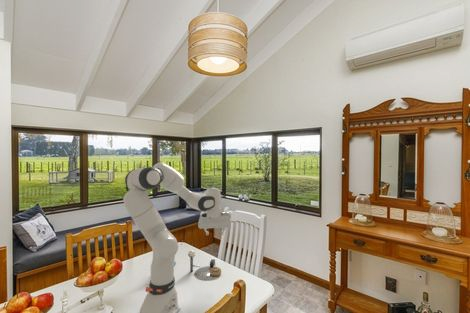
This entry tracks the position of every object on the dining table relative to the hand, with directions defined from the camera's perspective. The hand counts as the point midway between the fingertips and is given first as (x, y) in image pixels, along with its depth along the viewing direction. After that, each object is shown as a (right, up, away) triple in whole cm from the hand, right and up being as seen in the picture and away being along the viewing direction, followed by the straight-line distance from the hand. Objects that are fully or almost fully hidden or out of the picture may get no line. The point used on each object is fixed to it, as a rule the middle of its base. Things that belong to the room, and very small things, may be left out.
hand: (214, 234), depth 144 cm
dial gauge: (-14, -26, +3) cm, 30 cm away
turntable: (-4, -26, +3) cm, 26 cm away
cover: (0, -25, 0) cm, 25 cm away
